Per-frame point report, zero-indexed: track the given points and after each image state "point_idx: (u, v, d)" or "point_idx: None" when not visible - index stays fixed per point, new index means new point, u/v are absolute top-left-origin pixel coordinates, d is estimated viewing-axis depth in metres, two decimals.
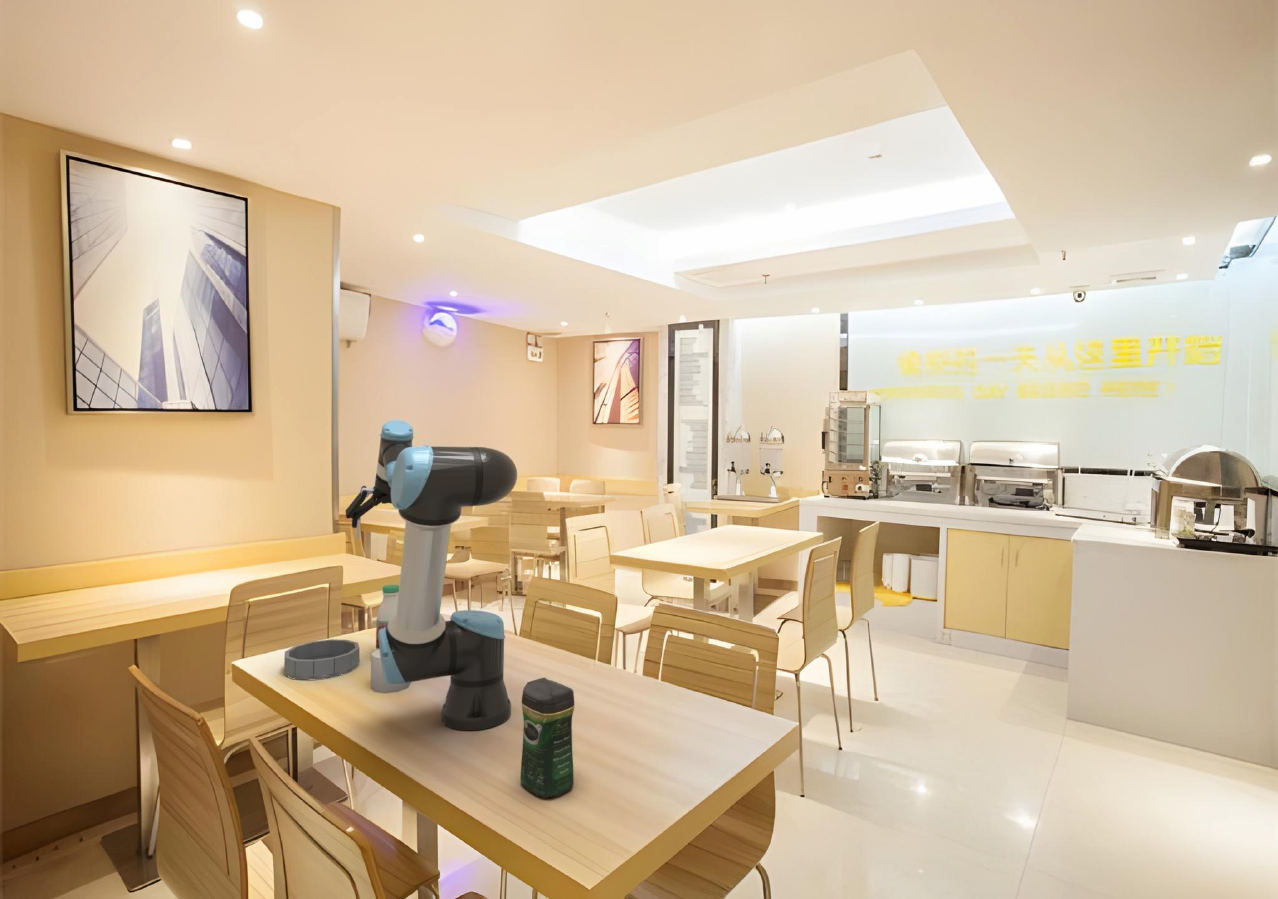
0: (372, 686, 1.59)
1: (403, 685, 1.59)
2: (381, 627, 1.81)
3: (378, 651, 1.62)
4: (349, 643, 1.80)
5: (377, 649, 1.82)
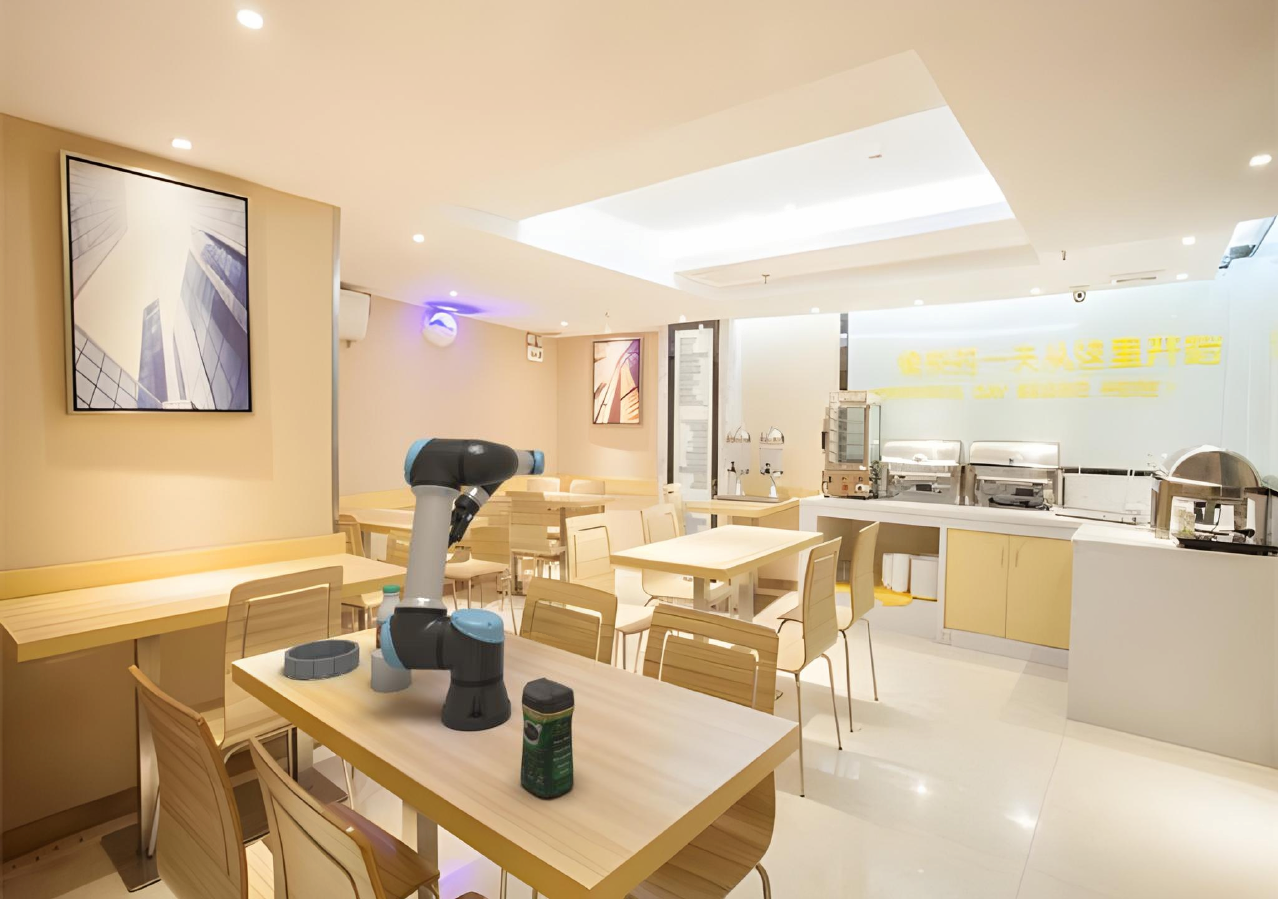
0: (372, 686, 1.59)
1: (403, 685, 1.59)
2: (381, 627, 1.81)
3: (378, 651, 1.62)
4: (349, 643, 1.80)
5: None
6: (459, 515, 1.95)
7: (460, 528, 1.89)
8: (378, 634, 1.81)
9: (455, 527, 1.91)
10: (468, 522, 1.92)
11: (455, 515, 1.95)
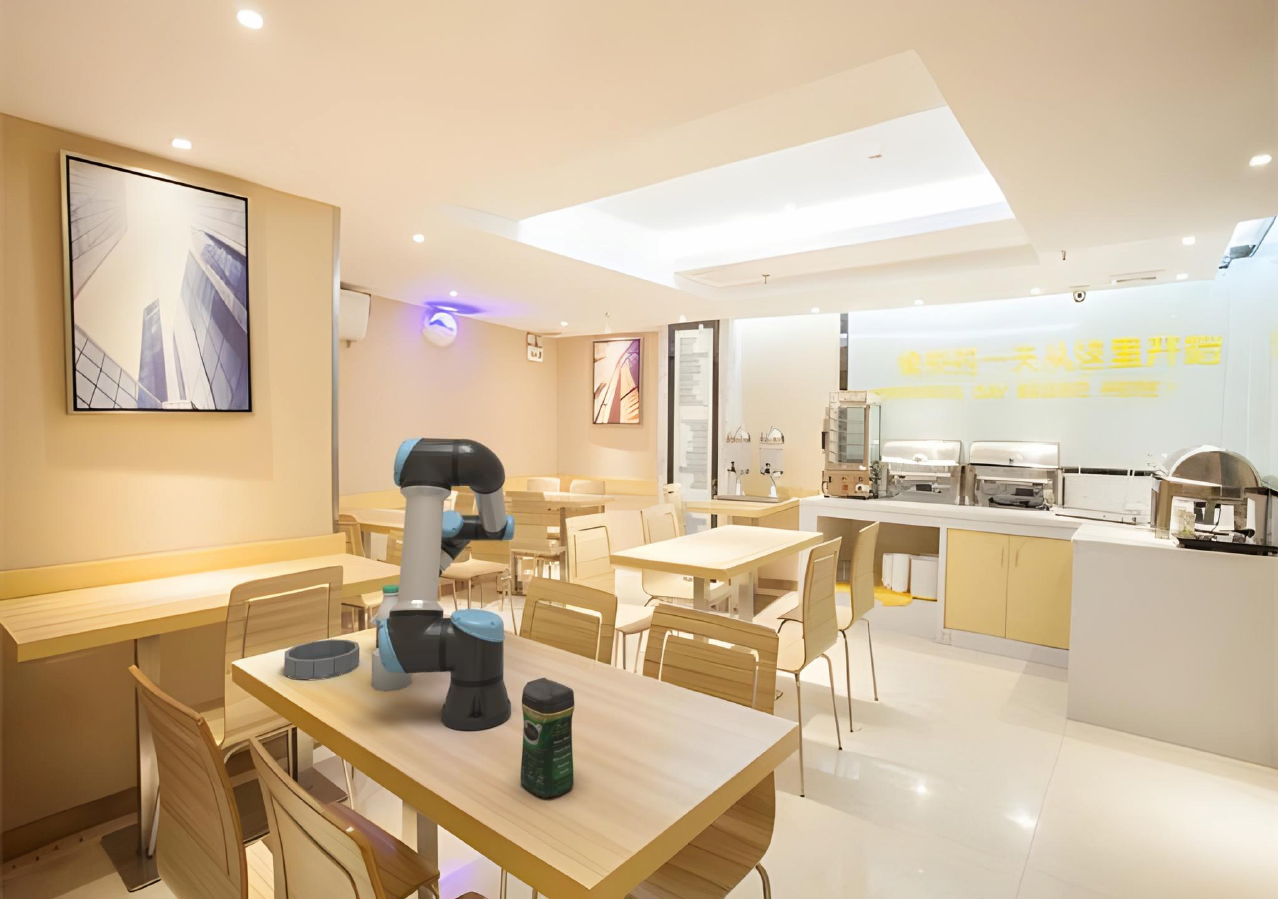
0: (373, 684, 1.60)
1: (403, 683, 1.60)
2: None
3: None
4: (349, 643, 1.80)
5: None
6: None
7: None
8: None
9: None
10: None
11: None
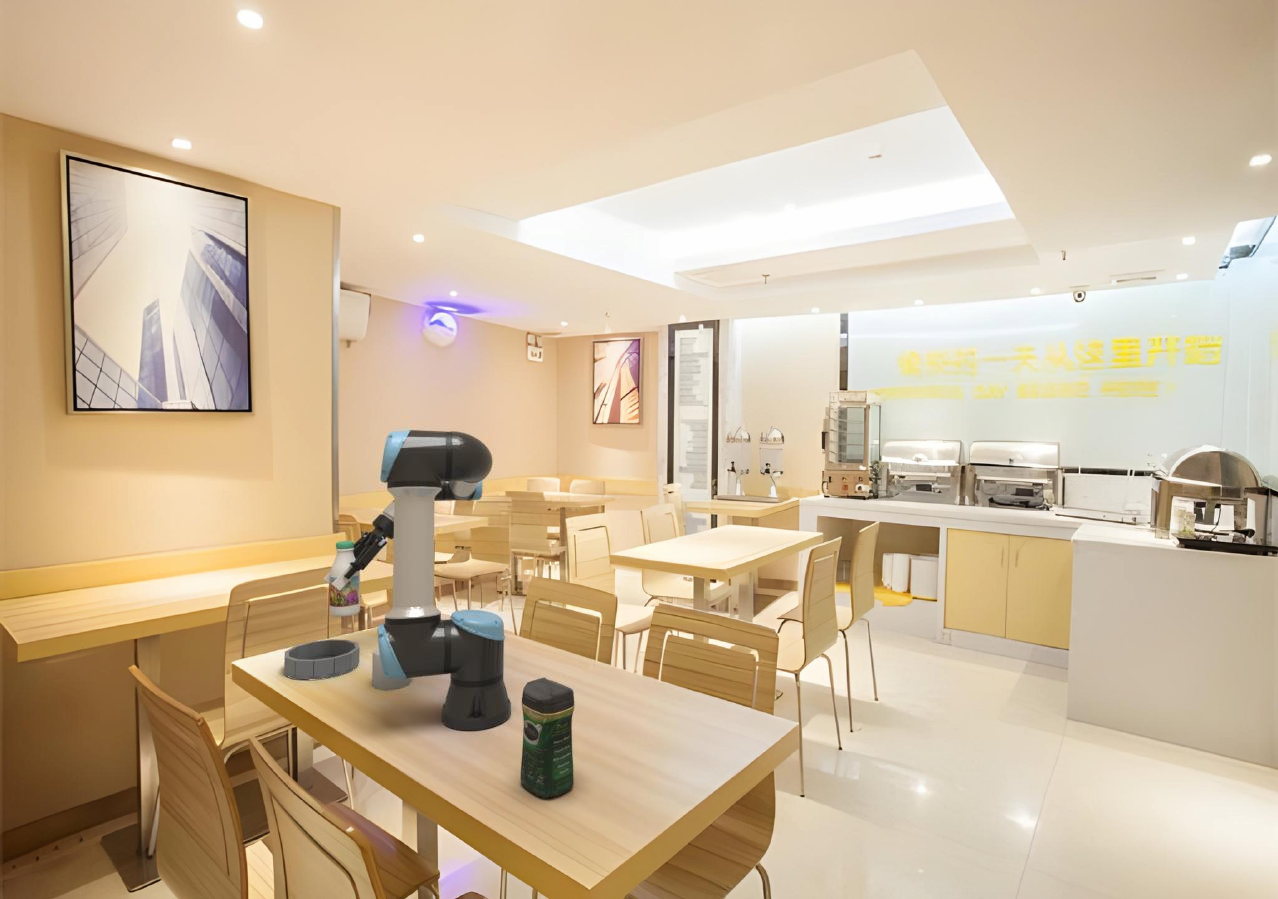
0: (373, 683, 1.60)
1: (403, 682, 1.61)
2: None
3: None
4: (349, 643, 1.80)
5: (330, 607, 1.75)
6: (375, 537, 1.80)
7: (366, 555, 1.74)
8: (331, 591, 1.75)
9: (364, 553, 1.77)
10: (379, 548, 1.77)
11: (370, 538, 1.80)
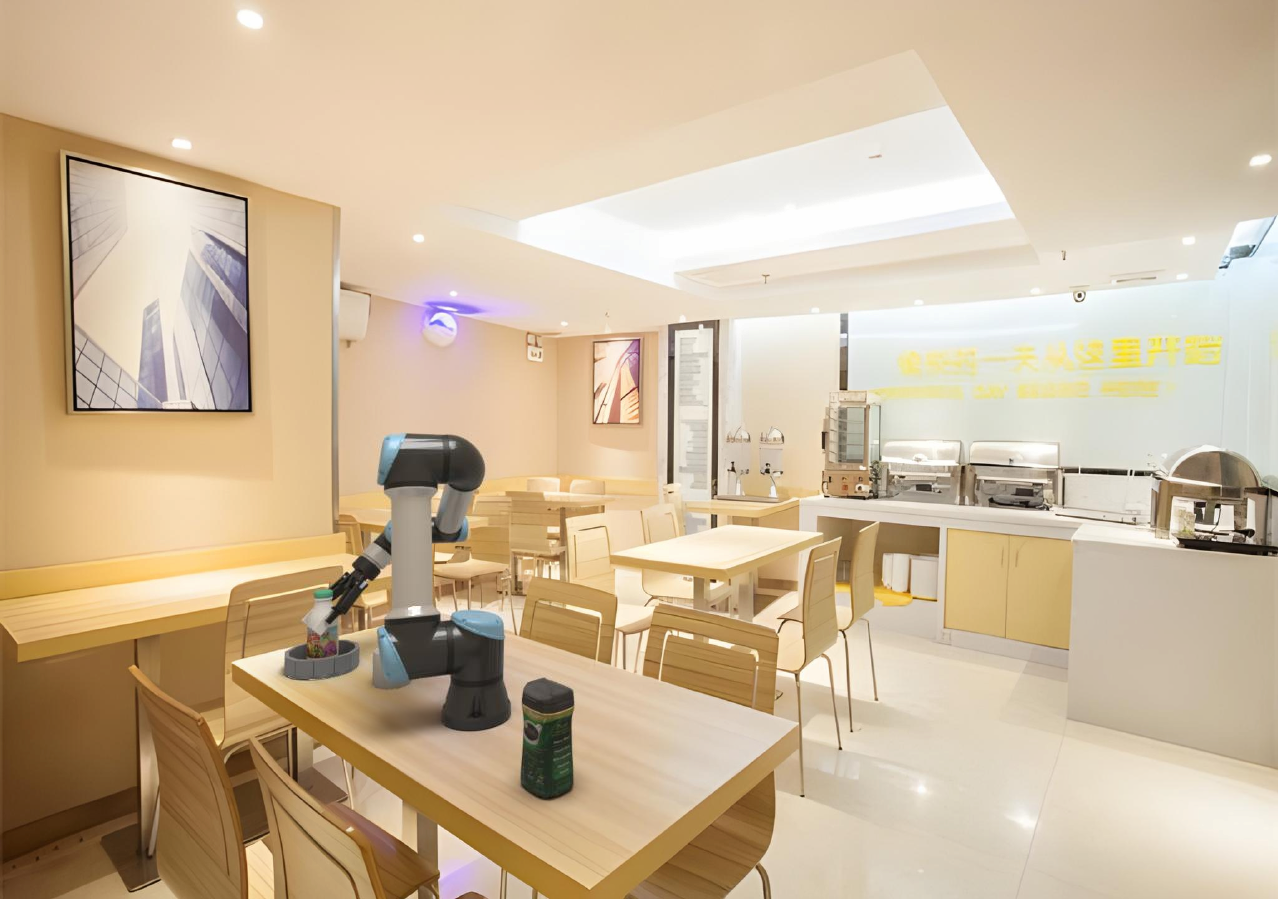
0: (374, 683, 1.61)
1: (404, 681, 1.61)
2: (311, 635, 1.69)
3: None
4: (349, 643, 1.80)
5: (307, 658, 1.70)
6: (355, 580, 1.76)
7: (348, 599, 1.70)
8: (308, 642, 1.70)
9: (345, 596, 1.72)
10: (360, 591, 1.73)
11: (349, 580, 1.76)
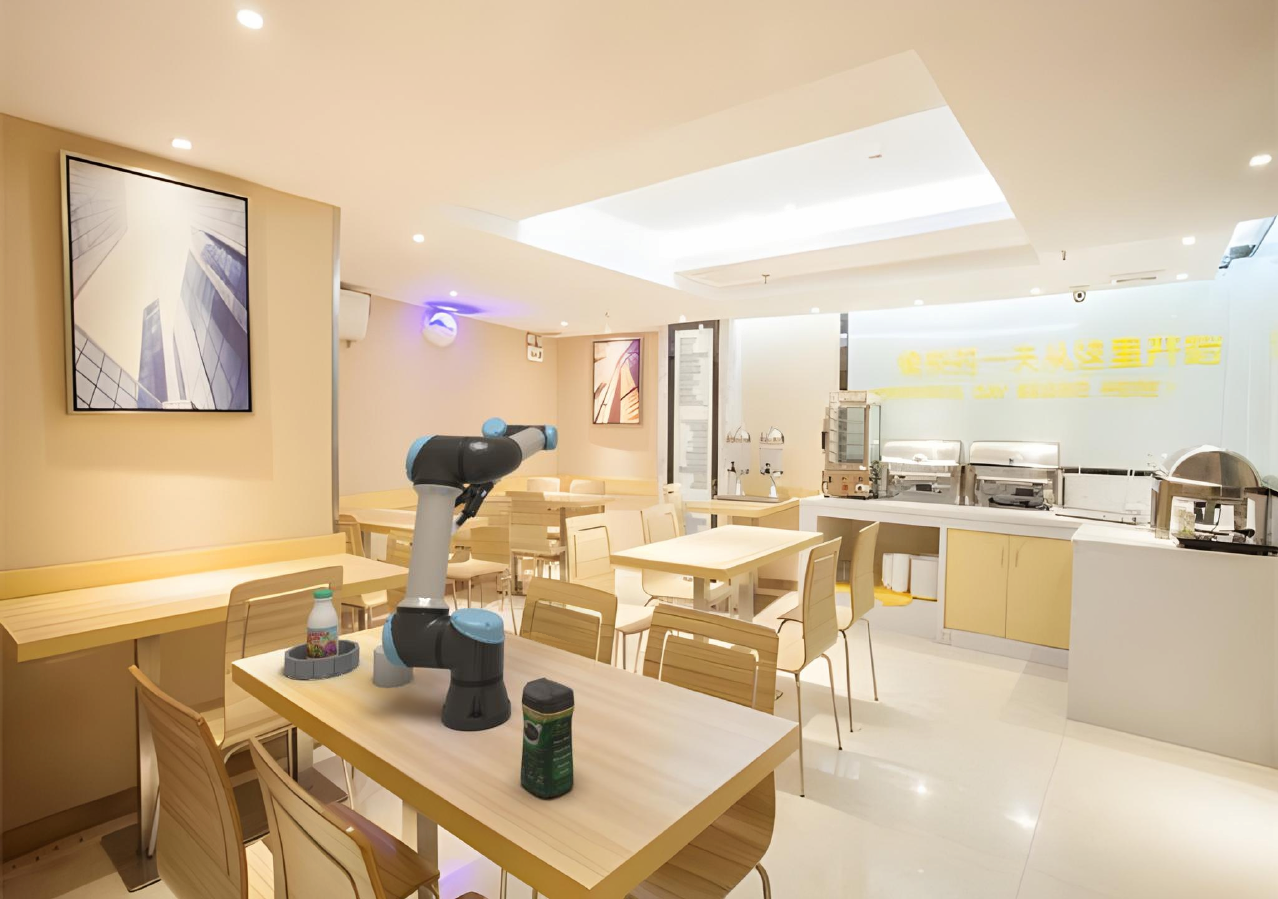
0: (375, 681, 1.62)
1: (404, 680, 1.62)
2: (311, 635, 1.69)
3: (380, 647, 1.65)
4: (349, 643, 1.80)
5: (307, 658, 1.70)
6: (473, 491, 1.92)
7: (474, 504, 1.86)
8: (308, 642, 1.70)
9: (469, 503, 1.89)
10: (482, 498, 1.90)
11: (469, 491, 1.92)
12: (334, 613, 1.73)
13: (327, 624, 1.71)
